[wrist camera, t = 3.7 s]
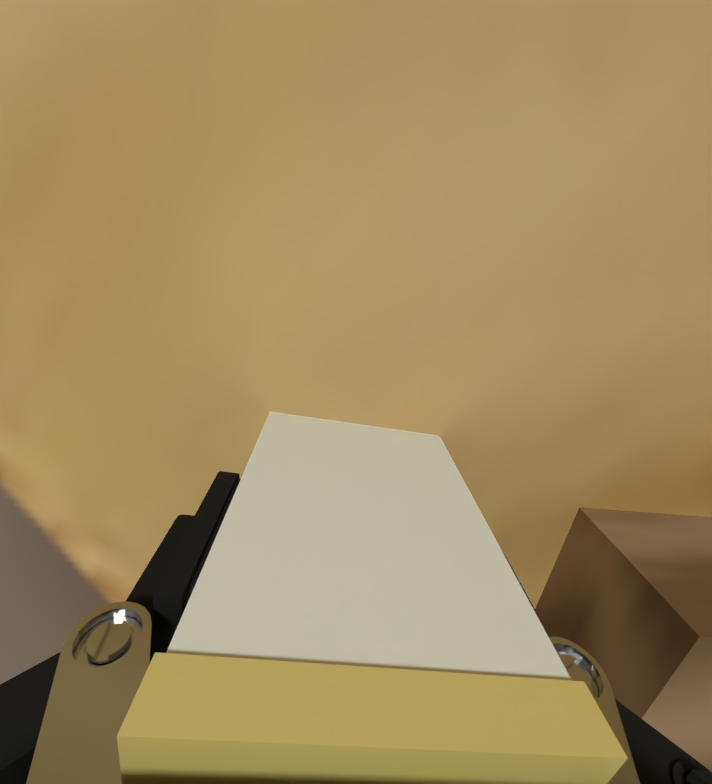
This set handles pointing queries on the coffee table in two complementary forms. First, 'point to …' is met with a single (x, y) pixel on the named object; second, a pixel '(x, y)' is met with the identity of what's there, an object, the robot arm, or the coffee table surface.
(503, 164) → the coffee table surface
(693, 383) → the coffee table surface
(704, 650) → the walnut box
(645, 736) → the robot arm
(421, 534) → the tea tin
